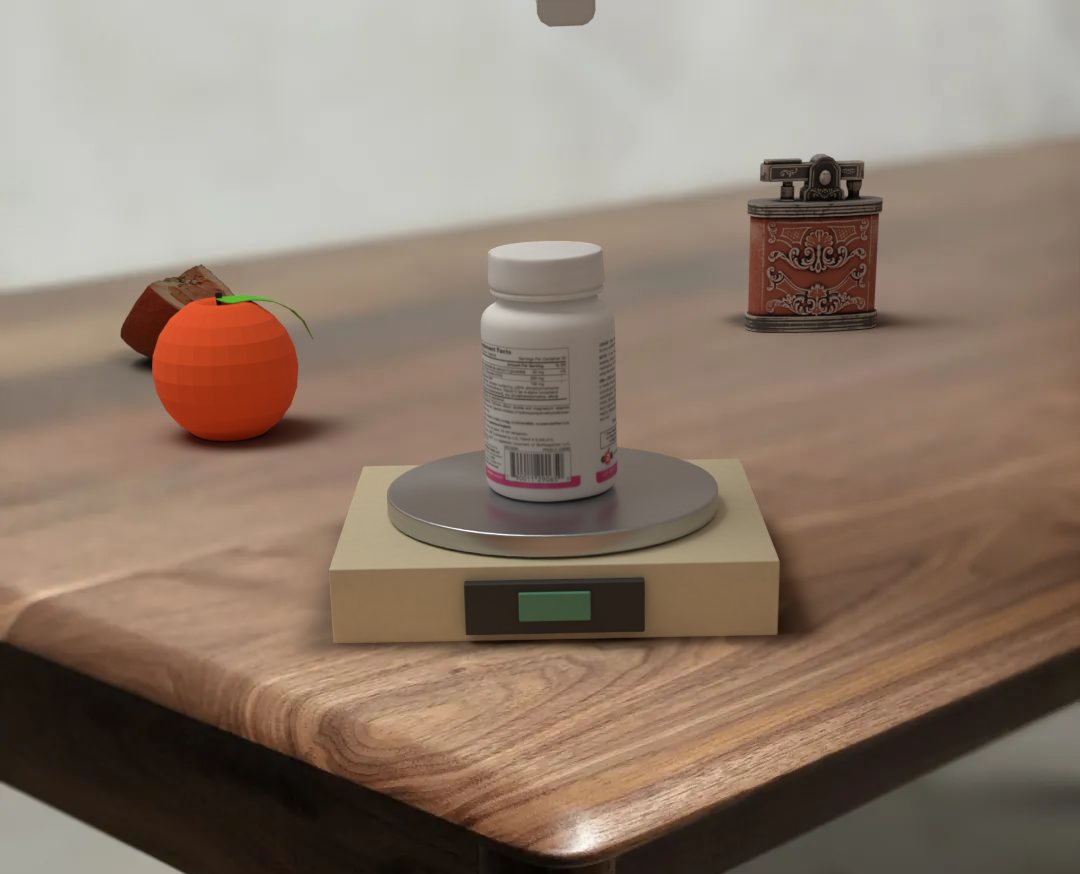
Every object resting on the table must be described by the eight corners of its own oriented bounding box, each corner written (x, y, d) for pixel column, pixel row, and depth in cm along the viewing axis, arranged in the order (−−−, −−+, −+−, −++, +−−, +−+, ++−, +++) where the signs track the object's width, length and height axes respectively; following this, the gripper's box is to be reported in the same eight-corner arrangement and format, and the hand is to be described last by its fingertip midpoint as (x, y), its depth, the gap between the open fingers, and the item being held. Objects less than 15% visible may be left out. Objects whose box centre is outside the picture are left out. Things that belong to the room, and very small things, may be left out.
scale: (738, 530, 74) (740, 458, 73) (779, 650, 62) (781, 565, 61) (367, 538, 74) (362, 465, 73) (332, 659, 62) (326, 574, 61)
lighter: (869, 318, 114) (877, 150, 110) (882, 329, 111) (891, 156, 107) (740, 322, 114) (744, 154, 110) (749, 333, 111) (753, 160, 107)
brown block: (162, 343, 112) (153, 259, 110) (267, 346, 110) (260, 261, 108) (103, 373, 104) (93, 284, 102) (216, 376, 103) (207, 286, 101)
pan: (703, 460, 73) (704, 440, 72) (733, 554, 62) (733, 531, 61) (399, 466, 73) (398, 446, 72) (374, 561, 62) (373, 539, 61)
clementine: (293, 414, 94) (283, 273, 91) (346, 443, 88) (336, 293, 86) (141, 435, 91) (125, 289, 88) (185, 467, 85) (170, 311, 82)
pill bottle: (564, 461, 70) (560, 234, 67) (643, 487, 66) (644, 249, 63) (459, 483, 67) (450, 248, 64) (536, 512, 64) (531, 264, 60)
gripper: (677, -556, 46) (682, 30, 52) (634, -416, 65) (641, 3, 71) (427, -545, 46) (457, 39, 52) (456, -408, 65) (476, 10, 71)
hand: (563, 18), depth 61 cm, fingers open, 8 cm apart
